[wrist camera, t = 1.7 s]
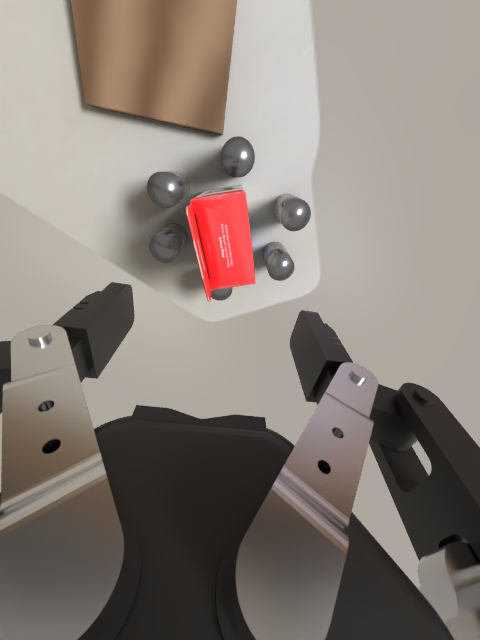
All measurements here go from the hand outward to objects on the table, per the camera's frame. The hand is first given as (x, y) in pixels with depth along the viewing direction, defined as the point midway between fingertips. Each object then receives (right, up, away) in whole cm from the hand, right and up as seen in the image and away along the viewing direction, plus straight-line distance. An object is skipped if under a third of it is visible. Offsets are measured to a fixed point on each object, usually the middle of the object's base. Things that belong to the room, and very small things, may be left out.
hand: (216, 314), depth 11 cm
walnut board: (-6, +27, +10) cm, 30 cm away
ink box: (0, +13, +20) cm, 24 cm away
